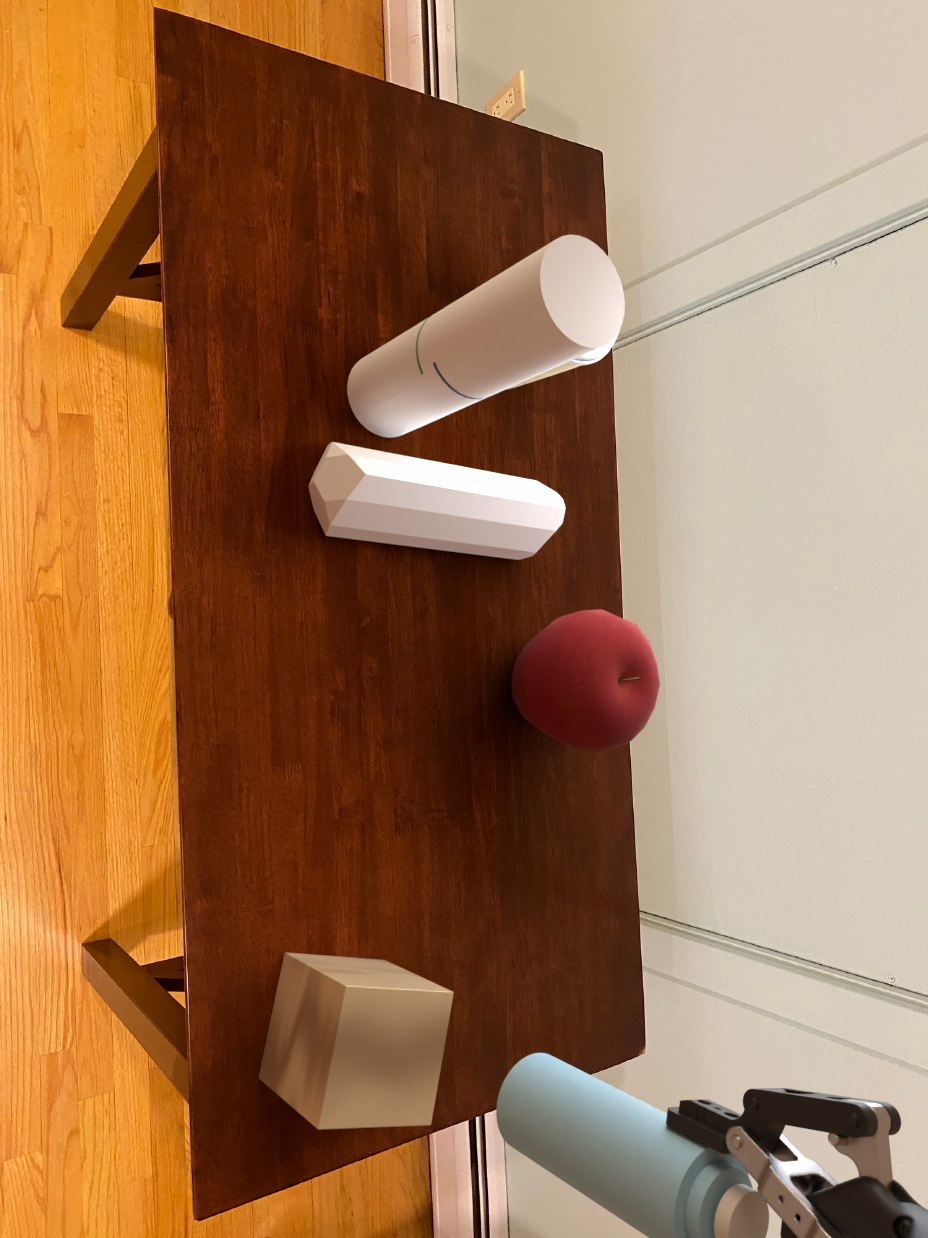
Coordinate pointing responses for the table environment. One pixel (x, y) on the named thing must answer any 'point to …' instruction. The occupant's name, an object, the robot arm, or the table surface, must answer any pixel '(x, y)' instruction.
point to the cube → (356, 1042)
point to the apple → (587, 680)
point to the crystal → (431, 504)
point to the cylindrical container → (492, 338)
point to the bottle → (625, 1154)
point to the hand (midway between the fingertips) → (670, 1181)
